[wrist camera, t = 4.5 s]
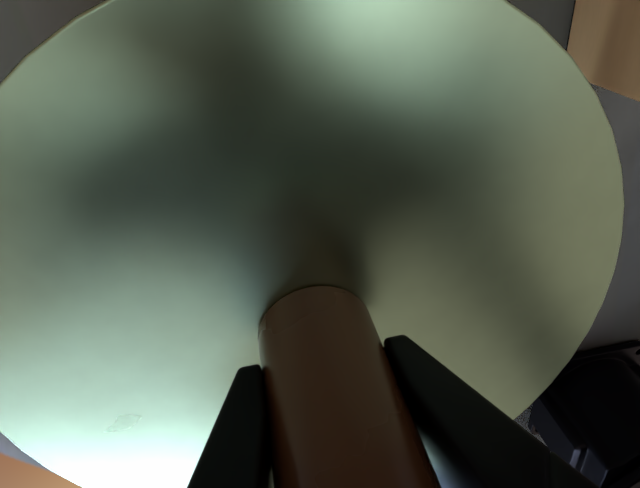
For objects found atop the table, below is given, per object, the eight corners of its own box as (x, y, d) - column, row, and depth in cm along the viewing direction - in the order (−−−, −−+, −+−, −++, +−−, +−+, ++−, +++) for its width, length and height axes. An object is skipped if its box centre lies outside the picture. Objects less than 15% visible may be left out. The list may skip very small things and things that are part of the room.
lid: (667, -100, 8) (1272, -147, 4) (541, 425, 16) (680, 632, 11) (-239, 3, 7) (-1255, 154, 2) (98, 526, 14) (42, 813, 10)
